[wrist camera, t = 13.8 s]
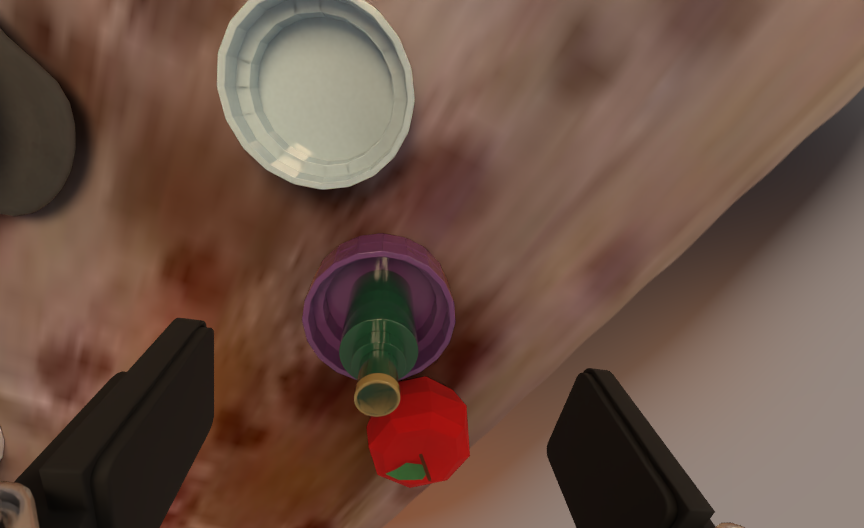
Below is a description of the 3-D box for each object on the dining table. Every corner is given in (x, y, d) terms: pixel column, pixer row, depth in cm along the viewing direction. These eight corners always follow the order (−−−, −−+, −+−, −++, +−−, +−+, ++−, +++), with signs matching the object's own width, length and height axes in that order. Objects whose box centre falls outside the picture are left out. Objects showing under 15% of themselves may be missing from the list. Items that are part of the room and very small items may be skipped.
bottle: (396, 259, 38) (400, 347, 25) (422, 310, 40) (437, 414, 27) (338, 284, 38) (312, 383, 25) (367, 333, 41) (356, 446, 28)
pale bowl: (365, -36, 29) (361, -59, 25) (435, 137, 34) (442, 145, 30) (206, 42, 30) (174, 34, 26) (297, 199, 35) (283, 216, 31)
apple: (473, 369, 44) (495, 441, 35) (450, 441, 48) (464, 524, 39) (376, 356, 42) (373, 430, 33) (360, 433, 46) (354, 517, 37)
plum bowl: (415, 209, 37) (419, 226, 32) (466, 321, 42) (475, 349, 37) (287, 265, 38) (272, 290, 33) (352, 368, 43) (347, 401, 38)
